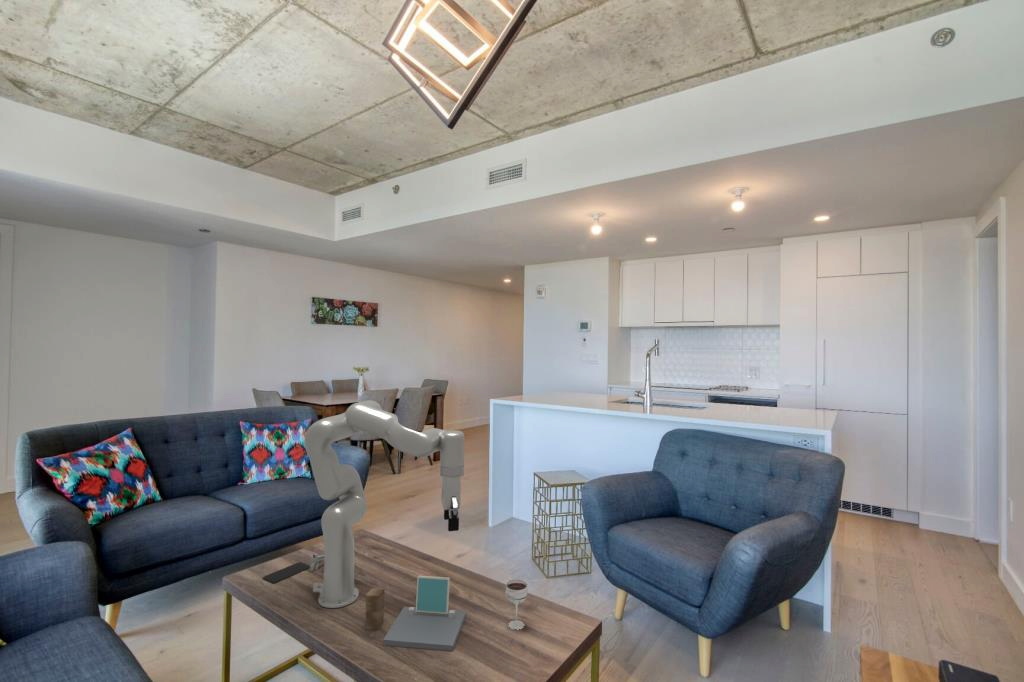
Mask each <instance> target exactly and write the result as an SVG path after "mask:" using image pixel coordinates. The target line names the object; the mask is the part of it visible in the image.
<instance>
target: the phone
mask: <svg viewBox="0 0 1024 682" xmlns="http://www.w3.org/2000/svg"><path fill="white" fill-rule="evenodd" d="M307 570H310V564H306V563H304V562H302V561H301V562H296V563H294V564H291V565H289V566H286V567H283V568H281V569H278V570H276V571H274V572H272V573H270V574H267V575H264V576H263V577H262V578H263V580H264V581H266V582H267V583H270V584H277V583H280V582H282V581H284V580H286V579H289V578H291V577H293V576H295V575H298V574H300V573H303V572H305V571H307ZM302 571H303V572H302Z"/></svg>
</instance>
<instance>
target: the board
mask: <svg viewBox="0 0 1024 682" xmlns="http://www.w3.org/2000/svg"><path fill="white" fill-rule="evenodd" d="M466 618H467V611H466V610H455V609H448V614H442V613H430V612H417V611H416V606H403V608H402V609H401V611H400V612H399V614H398V616H397V617H396V618H395V620H394V622H393V623H392V625H391V627H390V628H389V630H388V631H387V633H386V635H385V636H384V638H383V639H382V645H383V646H389V647H390V646H391V647H399V648H412V649H422V650H423V649H424V650H436V651H444V652H445V651H447V652H453V651H454V649H455V647H456V644H457V641H458V638H459V636H460V633H461V630H462V628H463V625H464V623H465V620H466Z"/></svg>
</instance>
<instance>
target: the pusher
mask: <svg viewBox="0 0 1024 682" xmlns="http://www.w3.org/2000/svg"><path fill="white" fill-rule="evenodd" d="M384 623H385V588H384V589H383V588H373V587H372V588H371V589H370V590H369V591H368V592H367V593H366V595H365V630H370V629H372V630H374V631H379V630H380V629H381V628H382V626H383V624H384Z"/></svg>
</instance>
